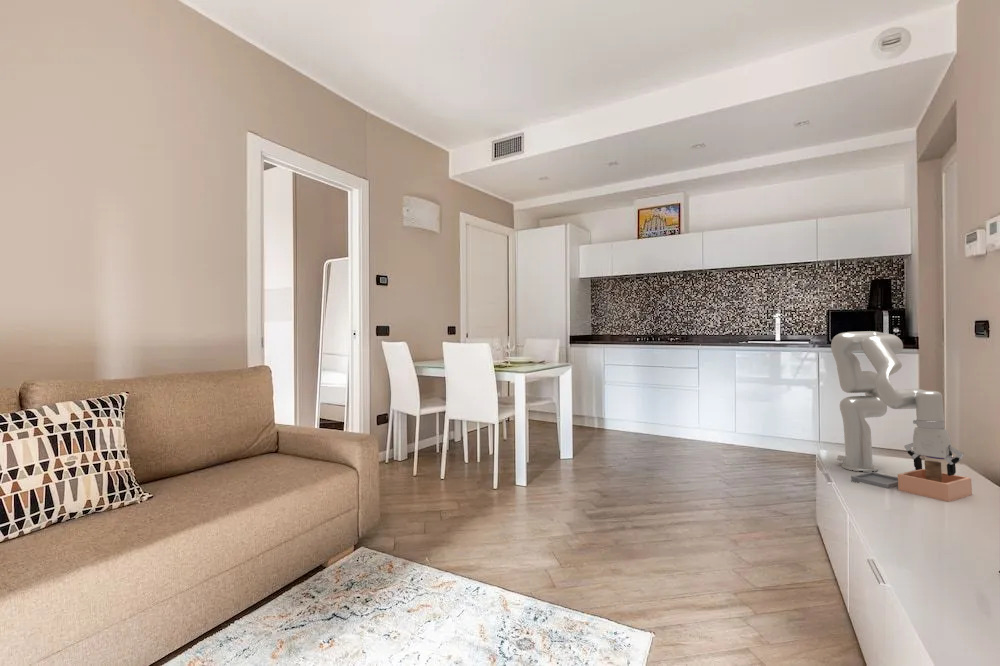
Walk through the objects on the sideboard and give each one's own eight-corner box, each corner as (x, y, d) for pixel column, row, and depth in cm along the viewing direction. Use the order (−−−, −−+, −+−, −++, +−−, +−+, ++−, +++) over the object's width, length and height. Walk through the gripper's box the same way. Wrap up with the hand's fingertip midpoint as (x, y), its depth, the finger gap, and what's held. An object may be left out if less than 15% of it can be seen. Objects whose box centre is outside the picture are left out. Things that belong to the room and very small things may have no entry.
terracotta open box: (898, 491, 179) (897, 474, 179) (921, 485, 185) (920, 468, 185) (948, 503, 165) (947, 484, 165) (972, 496, 171) (971, 477, 171)
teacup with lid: (957, 481, 188) (956, 451, 188) (927, 478, 193) (925, 449, 193) (950, 473, 198) (949, 445, 198) (921, 471, 203) (920, 443, 203)
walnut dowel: (923, 491, 176) (921, 461, 176) (930, 489, 178) (928, 459, 178) (938, 494, 172) (936, 464, 172) (945, 492, 174) (943, 462, 174)
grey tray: (851, 481, 193) (851, 476, 193) (871, 476, 198) (871, 471, 198) (887, 489, 181) (887, 484, 181) (908, 484, 186) (907, 479, 186)
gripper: (897, 423, 182) (901, 468, 181) (954, 429, 166) (959, 479, 165) (909, 421, 185) (912, 466, 184) (966, 426, 169) (970, 475, 168)
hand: (934, 472), depth 174 cm, fingers open, 9 cm apart
